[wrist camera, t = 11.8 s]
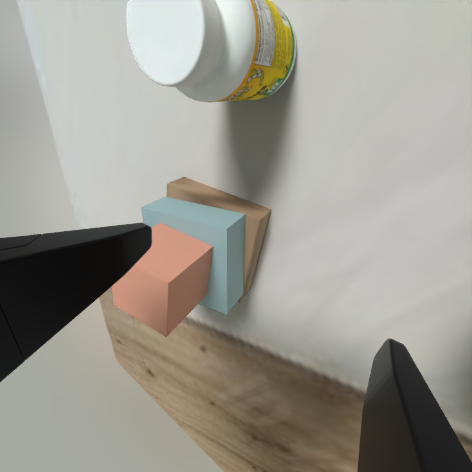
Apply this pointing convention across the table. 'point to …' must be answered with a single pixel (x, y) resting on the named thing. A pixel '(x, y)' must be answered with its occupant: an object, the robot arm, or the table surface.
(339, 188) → the table surface
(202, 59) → the supplement bottle
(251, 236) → the tower base
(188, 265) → the brick cube
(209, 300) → the tower top
